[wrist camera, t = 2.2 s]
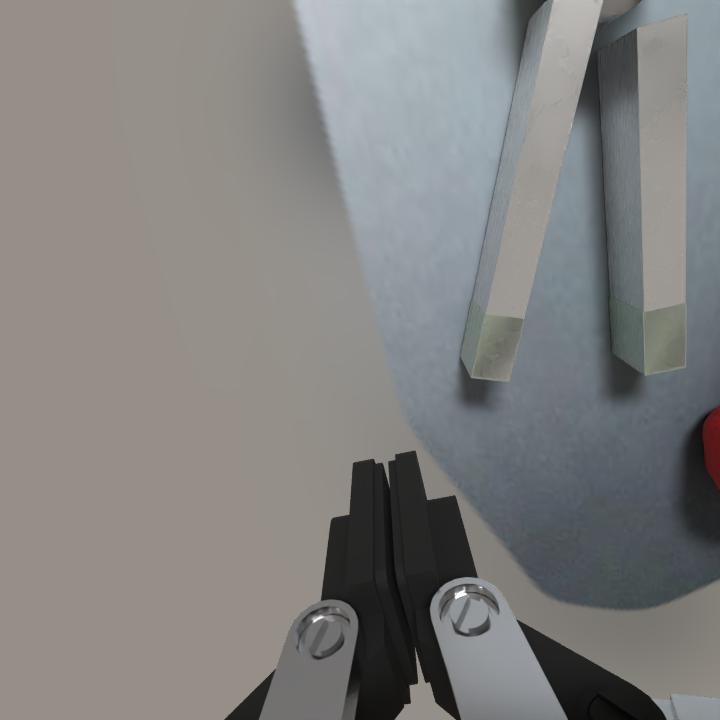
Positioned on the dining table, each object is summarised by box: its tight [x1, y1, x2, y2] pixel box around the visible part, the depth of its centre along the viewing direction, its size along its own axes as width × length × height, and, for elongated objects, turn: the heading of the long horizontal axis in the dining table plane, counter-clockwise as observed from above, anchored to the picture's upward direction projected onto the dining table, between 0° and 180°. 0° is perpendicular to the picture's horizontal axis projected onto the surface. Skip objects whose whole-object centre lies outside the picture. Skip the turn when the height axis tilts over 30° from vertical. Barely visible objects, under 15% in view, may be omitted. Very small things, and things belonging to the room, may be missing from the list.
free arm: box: [460, 0, 641, 382], centre depth 23 cm, size 4×19×3 cm, turn 174°
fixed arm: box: [597, 13, 688, 376], centre depth 23 cm, size 2×16×4 cm, turn 14°
